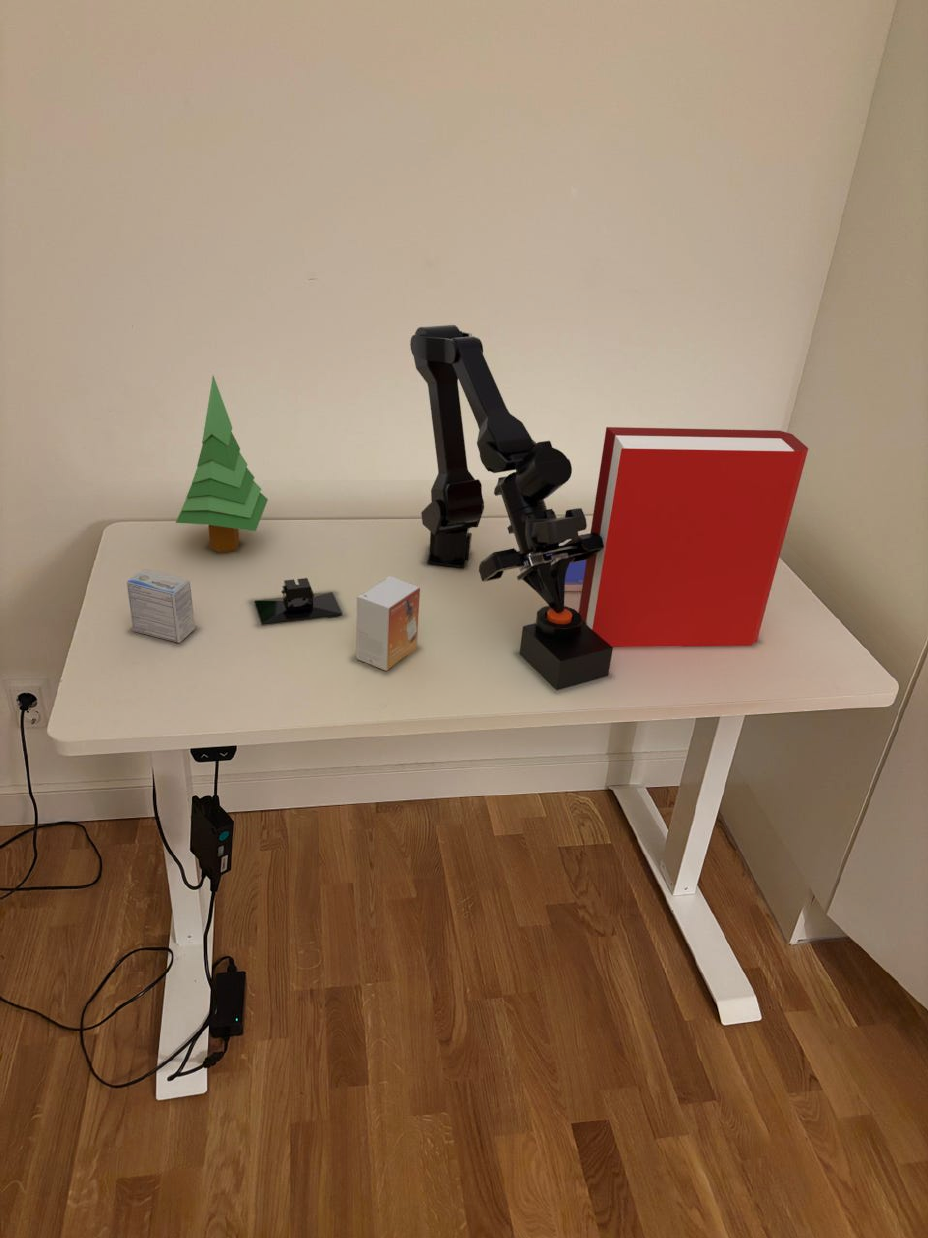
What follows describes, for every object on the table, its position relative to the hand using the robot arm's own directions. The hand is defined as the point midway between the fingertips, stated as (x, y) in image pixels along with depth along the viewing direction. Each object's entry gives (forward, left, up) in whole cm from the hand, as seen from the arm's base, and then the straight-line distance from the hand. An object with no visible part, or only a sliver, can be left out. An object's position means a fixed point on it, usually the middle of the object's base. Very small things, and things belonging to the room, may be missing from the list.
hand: (560, 611), depth 139 cm
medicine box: (-57, -7, -8) cm, 58 cm away
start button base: (+1, -2, -8) cm, 8 cm away
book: (+17, +11, -8) cm, 22 cm away
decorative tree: (-58, +21, -8) cm, 62 cm away
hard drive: (+1, +27, -8) cm, 28 cm away
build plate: (-40, +4, -8) cm, 41 cm away
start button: (0, 0, -3) cm, 3 cm away
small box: (-24, -5, -8) cm, 26 cm away
